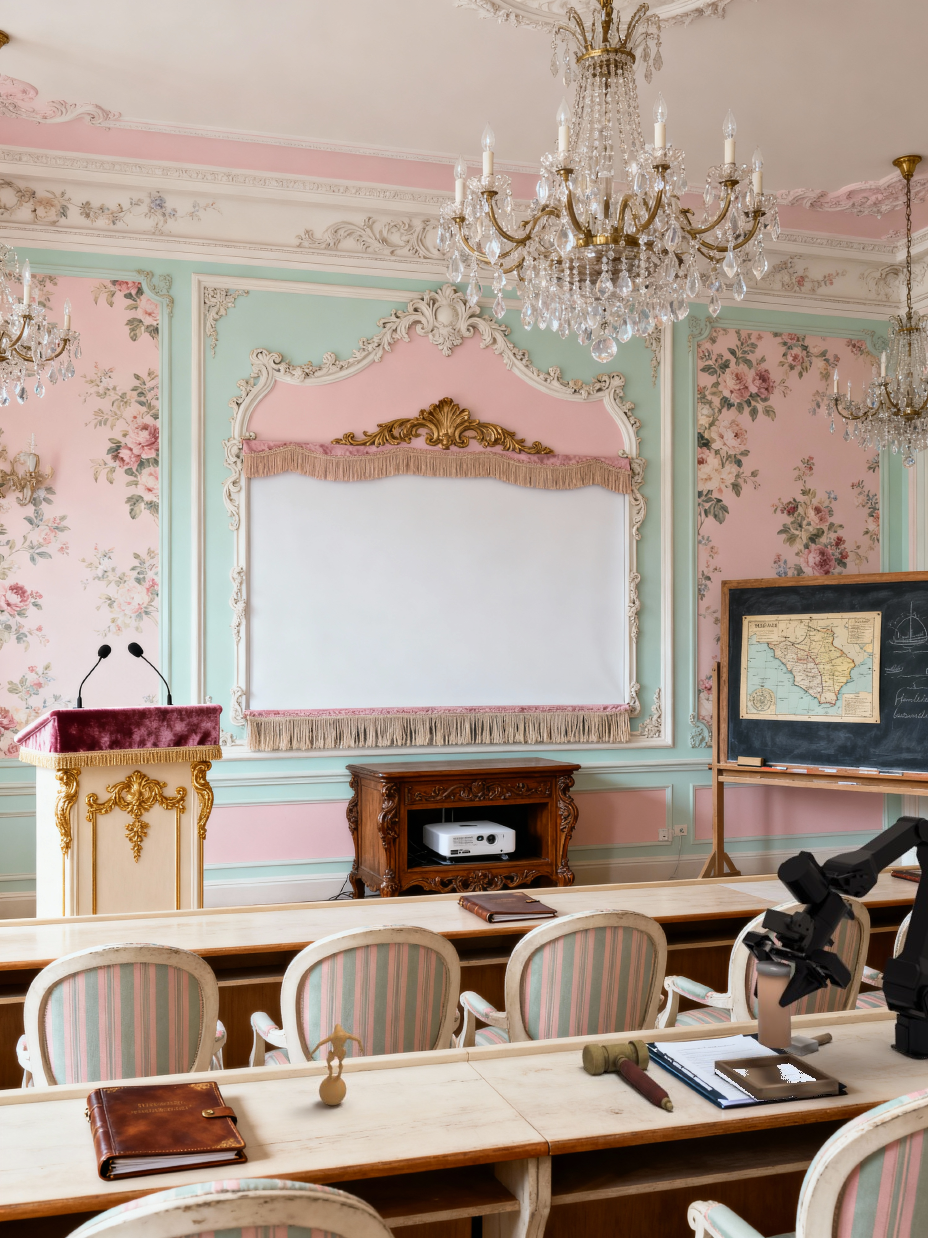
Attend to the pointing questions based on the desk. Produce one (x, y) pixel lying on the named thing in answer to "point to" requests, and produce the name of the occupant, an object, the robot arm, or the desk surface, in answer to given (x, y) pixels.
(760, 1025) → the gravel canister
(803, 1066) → the walnut tray
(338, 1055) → the figurine
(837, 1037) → the desk surface
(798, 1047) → the mallet
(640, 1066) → the gavel
